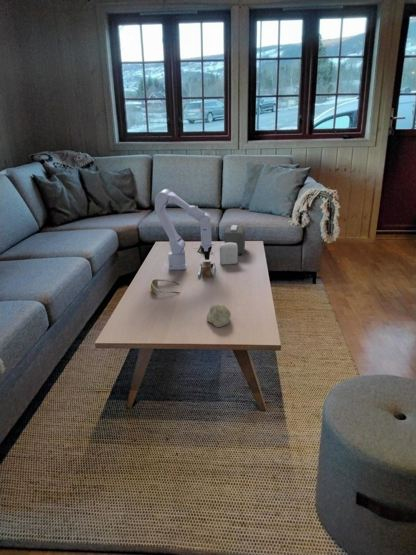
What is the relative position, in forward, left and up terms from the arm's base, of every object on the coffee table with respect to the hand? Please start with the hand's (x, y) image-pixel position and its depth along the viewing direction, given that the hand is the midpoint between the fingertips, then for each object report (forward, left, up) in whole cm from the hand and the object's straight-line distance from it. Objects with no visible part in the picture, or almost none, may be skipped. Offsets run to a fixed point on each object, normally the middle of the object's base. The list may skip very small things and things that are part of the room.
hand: (207, 259), depth 230 cm
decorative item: (+8, -61, -6) cm, 62 cm away
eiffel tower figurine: (-4, +28, -6) cm, 29 cm away
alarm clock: (+16, +27, -6) cm, 32 cm away
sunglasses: (-20, -28, -6) cm, 34 cm away
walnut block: (0, -9, -6) cm, 11 cm away
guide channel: (0, -6, -5) cm, 8 cm away
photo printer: (+12, +7, -6) cm, 15 cm away
